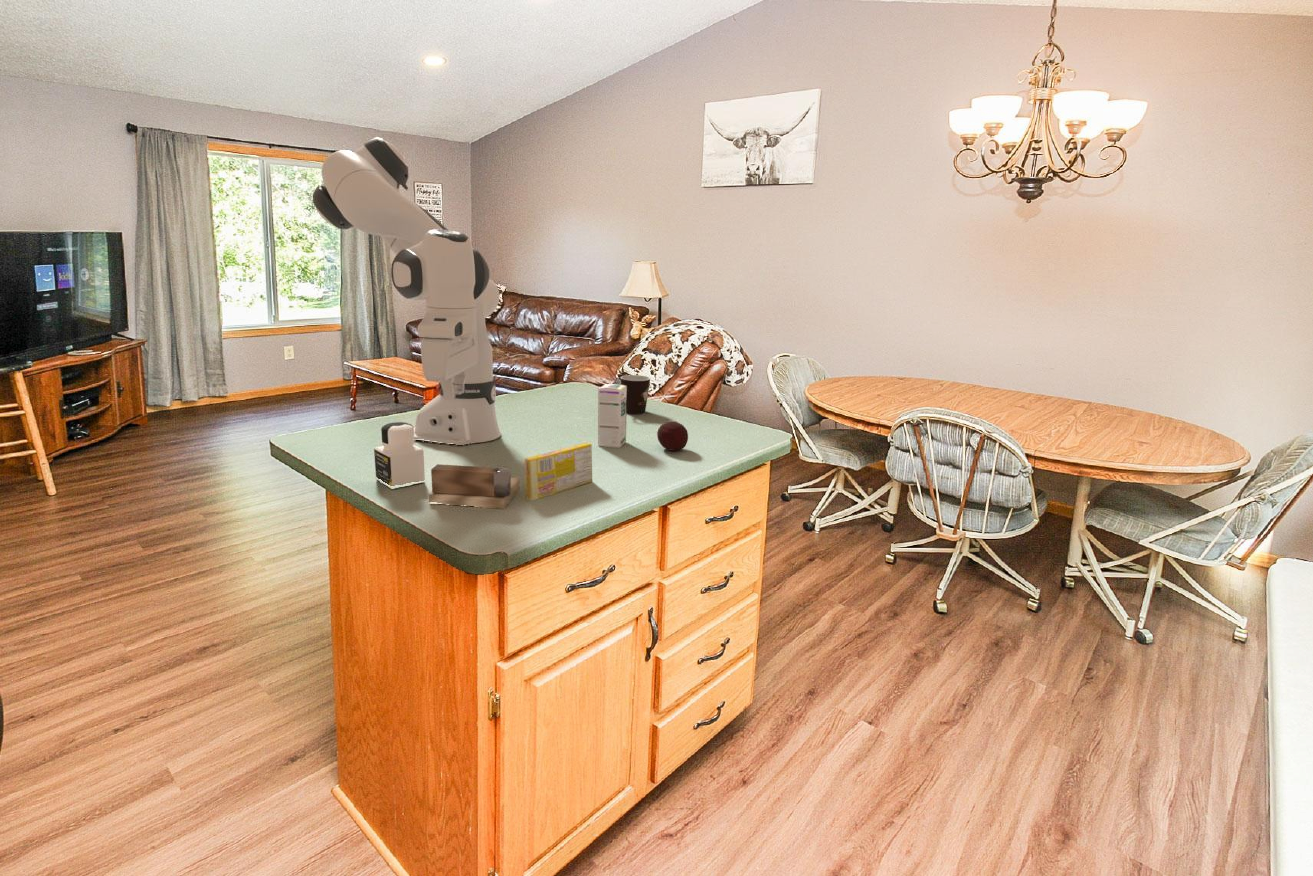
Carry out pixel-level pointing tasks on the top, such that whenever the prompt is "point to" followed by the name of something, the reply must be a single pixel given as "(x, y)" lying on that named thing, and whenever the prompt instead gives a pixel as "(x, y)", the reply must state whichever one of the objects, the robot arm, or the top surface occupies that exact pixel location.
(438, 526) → the top surface
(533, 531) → the top surface
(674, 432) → the dark red plum
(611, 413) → the syrup box
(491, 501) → the stool seat
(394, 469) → the medicine bottle
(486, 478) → the folding leg
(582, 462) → the candy box
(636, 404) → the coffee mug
